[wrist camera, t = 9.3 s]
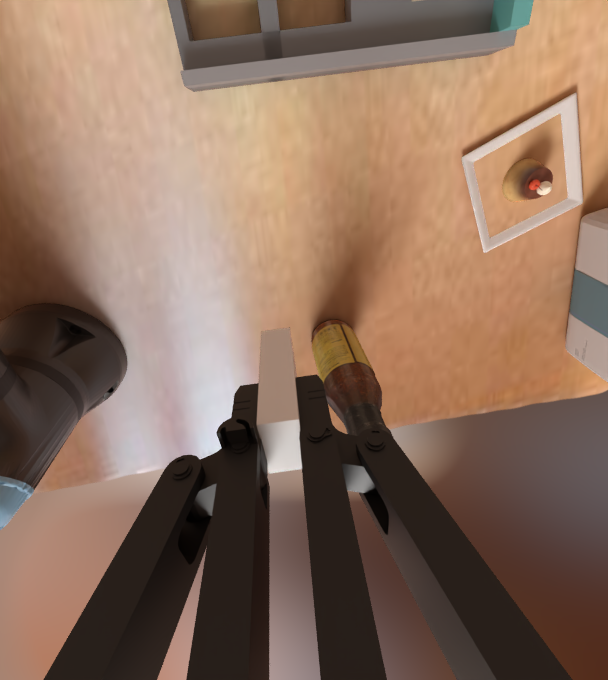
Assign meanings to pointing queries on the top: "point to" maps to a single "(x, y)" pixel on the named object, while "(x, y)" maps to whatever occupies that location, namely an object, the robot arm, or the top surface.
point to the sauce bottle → (347, 377)
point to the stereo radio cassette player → (590, 296)
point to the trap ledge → (348, 40)
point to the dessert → (530, 173)
